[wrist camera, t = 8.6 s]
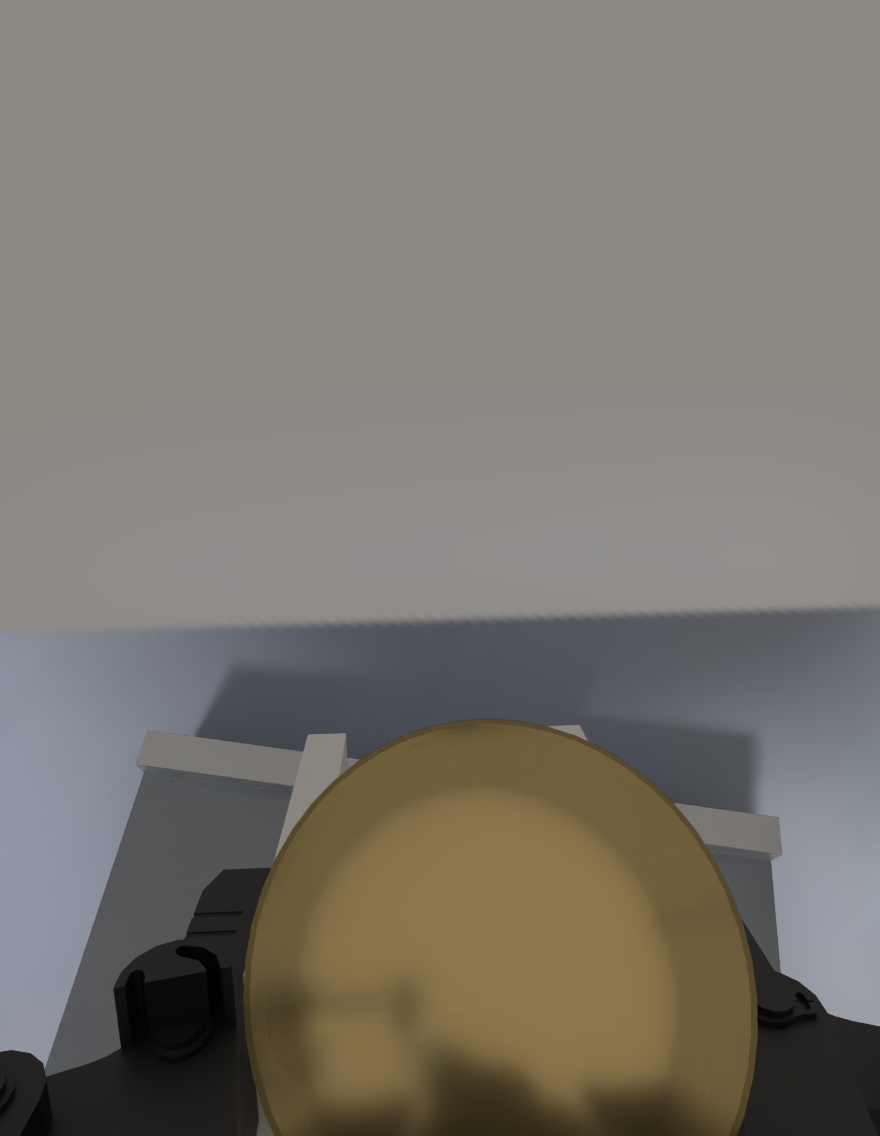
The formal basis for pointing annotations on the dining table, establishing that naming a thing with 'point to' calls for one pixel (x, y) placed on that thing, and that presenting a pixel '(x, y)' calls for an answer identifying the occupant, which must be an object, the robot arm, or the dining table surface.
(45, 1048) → the dining table surface
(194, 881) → the jig
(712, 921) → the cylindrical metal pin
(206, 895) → the robot arm
